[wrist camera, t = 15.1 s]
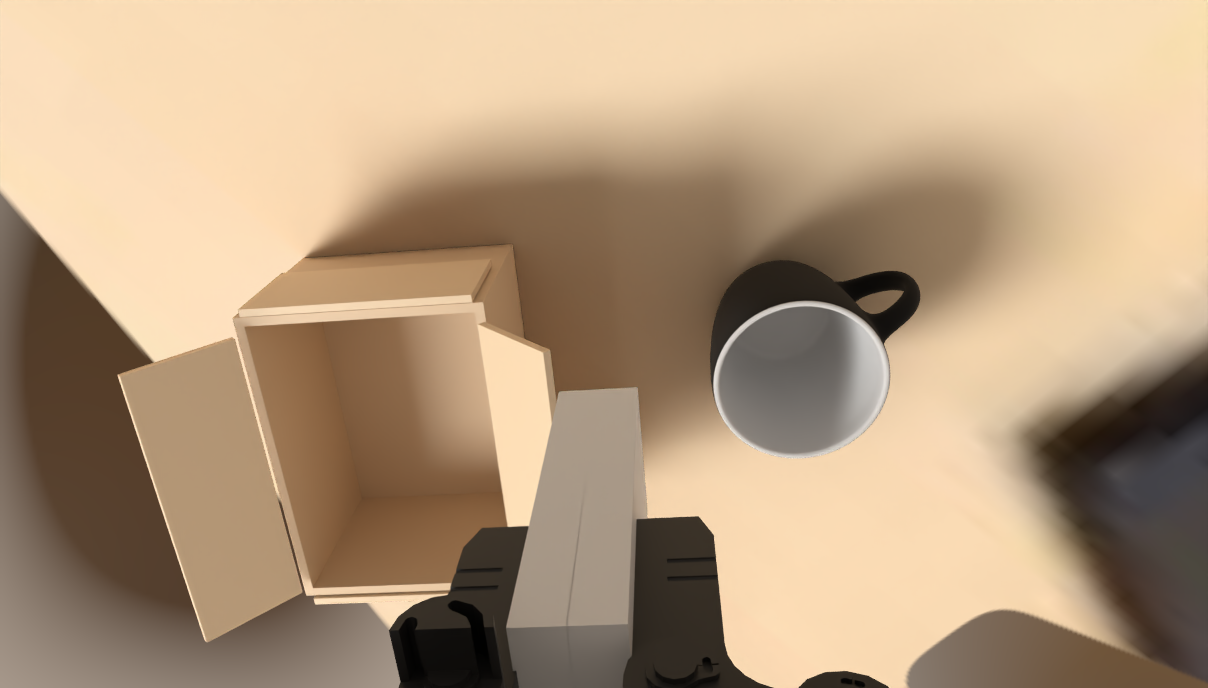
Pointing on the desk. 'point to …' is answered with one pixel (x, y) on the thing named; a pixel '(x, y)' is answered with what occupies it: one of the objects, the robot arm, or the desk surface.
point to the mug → (803, 356)
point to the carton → (381, 413)
